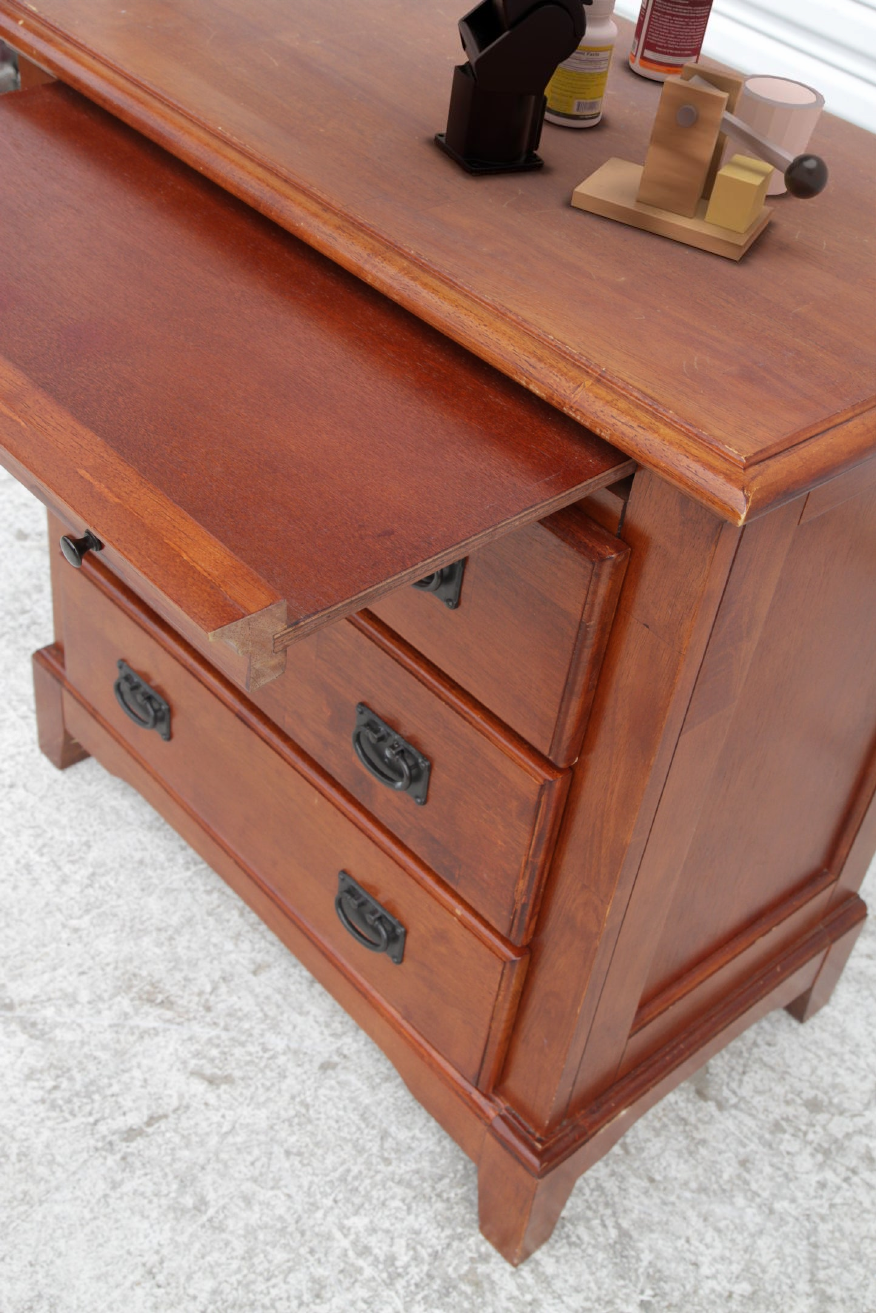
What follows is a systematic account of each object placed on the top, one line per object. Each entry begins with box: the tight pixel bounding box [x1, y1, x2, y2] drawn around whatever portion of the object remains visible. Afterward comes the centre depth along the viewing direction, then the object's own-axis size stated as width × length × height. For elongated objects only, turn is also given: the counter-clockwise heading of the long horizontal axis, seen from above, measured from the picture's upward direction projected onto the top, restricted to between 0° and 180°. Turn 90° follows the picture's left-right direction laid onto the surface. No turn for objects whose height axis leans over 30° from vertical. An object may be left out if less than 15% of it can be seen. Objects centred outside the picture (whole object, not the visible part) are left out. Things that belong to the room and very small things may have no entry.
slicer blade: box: [689, 75, 830, 200], centre depth 90 cm, size 12×3×3 cm, turn 63°
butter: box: [704, 154, 775, 234], centre depth 92 cm, size 4×3×4 cm
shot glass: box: [720, 73, 826, 196], centre depth 100 cm, size 7×7×7 cm
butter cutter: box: [570, 61, 774, 262], centre depth 92 cm, size 13×8×10 cm, turn 63°
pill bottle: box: [628, 0, 714, 83], centre depth 115 cm, size 6×6×11 cm
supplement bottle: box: [544, 0, 619, 128], centre depth 104 cm, size 5×5×10 cm
